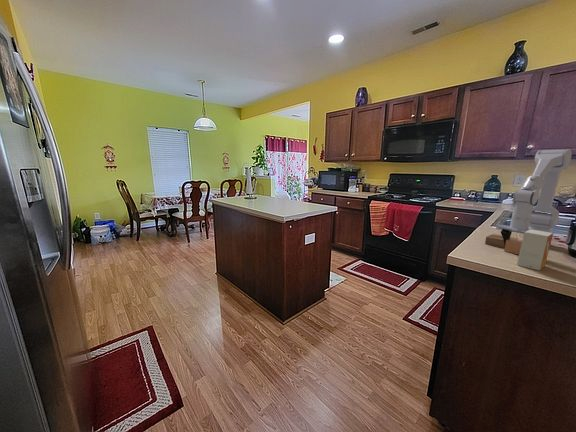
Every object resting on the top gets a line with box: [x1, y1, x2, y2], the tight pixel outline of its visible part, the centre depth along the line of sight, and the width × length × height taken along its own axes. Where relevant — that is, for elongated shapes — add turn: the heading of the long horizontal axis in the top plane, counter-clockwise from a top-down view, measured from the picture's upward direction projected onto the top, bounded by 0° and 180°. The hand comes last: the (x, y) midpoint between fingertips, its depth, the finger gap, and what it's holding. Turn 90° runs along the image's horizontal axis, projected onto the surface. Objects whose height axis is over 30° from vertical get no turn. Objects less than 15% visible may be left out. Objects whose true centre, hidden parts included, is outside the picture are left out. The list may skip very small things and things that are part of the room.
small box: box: [516, 229, 554, 271], centre depth 88 cm, size 8×6×13 cm
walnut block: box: [484, 233, 518, 249], centre depth 112 cm, size 9×9×4 cm
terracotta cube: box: [503, 239, 522, 255], centre depth 103 cm, size 5×5×5 cm
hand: (514, 248), depth 103 cm, fingers closed on terracotta cube, 5 cm apart
